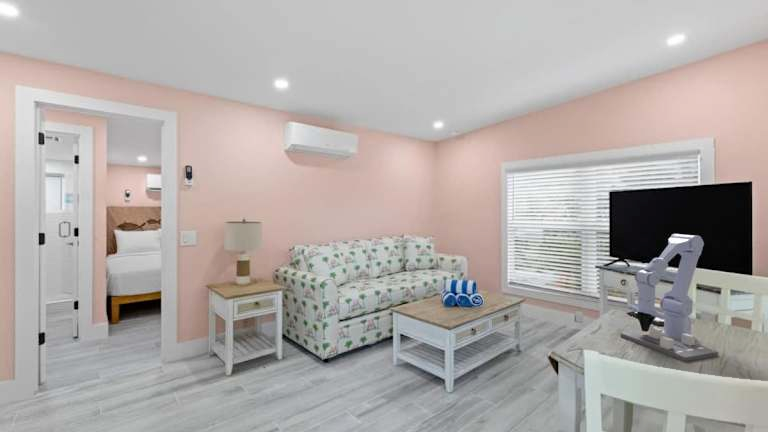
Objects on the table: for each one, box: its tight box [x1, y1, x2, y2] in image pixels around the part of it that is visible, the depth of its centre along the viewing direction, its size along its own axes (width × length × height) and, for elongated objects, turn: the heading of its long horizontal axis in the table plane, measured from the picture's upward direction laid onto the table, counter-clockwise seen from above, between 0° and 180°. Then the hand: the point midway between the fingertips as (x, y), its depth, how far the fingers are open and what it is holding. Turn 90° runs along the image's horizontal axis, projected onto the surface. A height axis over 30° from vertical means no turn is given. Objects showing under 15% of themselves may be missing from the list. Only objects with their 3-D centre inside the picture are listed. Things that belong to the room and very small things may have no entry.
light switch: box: [626, 310, 664, 328], centre depth 167 cm, size 20×3×14 cm
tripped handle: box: [649, 326, 663, 339], centre depth 140 cm, size 3×3×4 cm
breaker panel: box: [620, 328, 719, 362], centre depth 136 cm, size 18×24×5 cm
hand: (645, 330), depth 144 cm, fingers closed
